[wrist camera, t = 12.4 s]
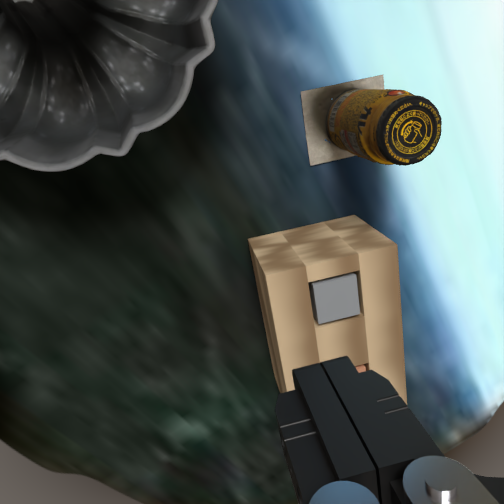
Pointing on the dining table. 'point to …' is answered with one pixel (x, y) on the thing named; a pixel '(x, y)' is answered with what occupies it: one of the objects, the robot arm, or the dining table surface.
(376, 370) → the oak block
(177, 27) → the bundt pan
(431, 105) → the condiment
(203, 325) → the dining table surface
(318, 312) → the peg grey
